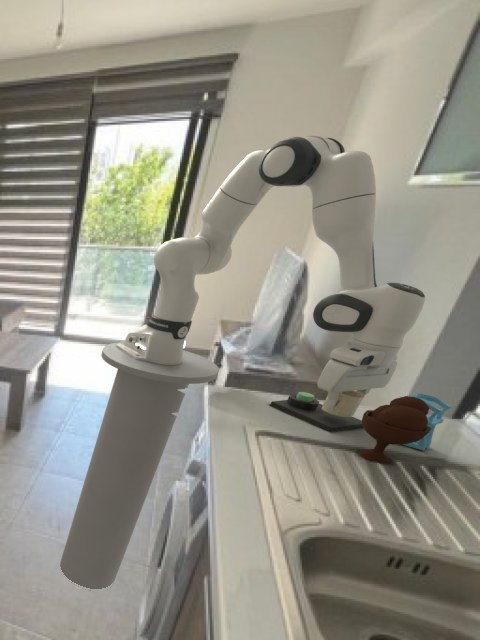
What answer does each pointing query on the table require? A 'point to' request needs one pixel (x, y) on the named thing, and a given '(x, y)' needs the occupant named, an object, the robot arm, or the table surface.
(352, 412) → the cream bowl
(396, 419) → the ice cream bowl
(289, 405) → the scale
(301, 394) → the tare button
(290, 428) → the table surface
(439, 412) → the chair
